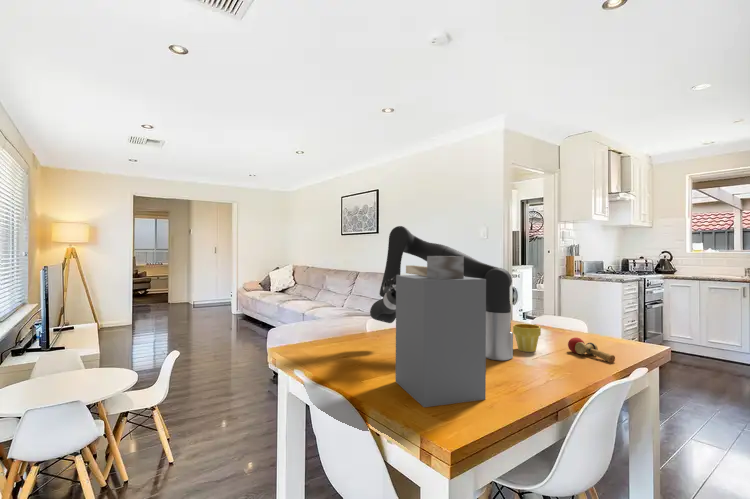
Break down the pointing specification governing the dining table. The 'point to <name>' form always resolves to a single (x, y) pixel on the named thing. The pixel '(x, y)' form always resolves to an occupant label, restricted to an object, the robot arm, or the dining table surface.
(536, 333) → the plant pot
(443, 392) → the tall grey box
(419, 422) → the dining table surface
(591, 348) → the kendama
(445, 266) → the tan and grey block
